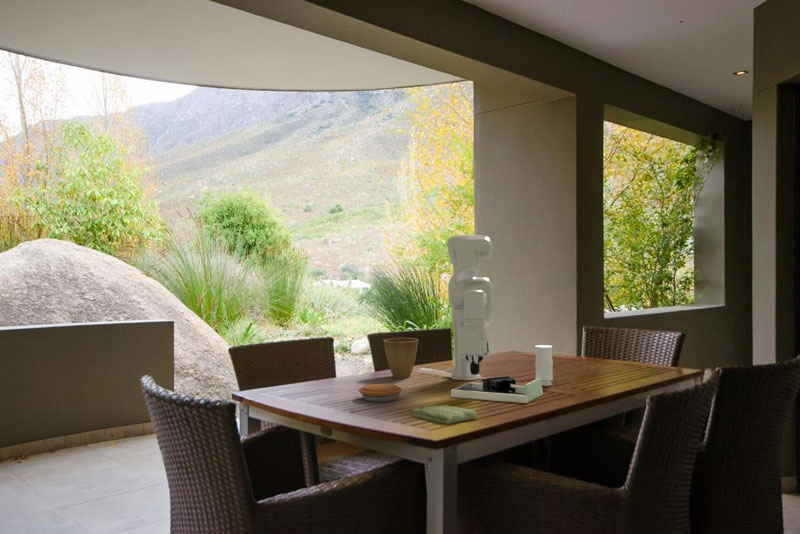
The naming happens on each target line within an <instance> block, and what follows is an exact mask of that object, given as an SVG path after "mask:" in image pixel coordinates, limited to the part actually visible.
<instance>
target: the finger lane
mask: <svg viewBox="0 0 800 534" xmlns="http://www.w3.org/2000/svg"><path fill="white" fill-rule="evenodd" d="M511 387H514V388H516V392H515V393H513V394H504V393H491V392H484V391H483V382H482V383H481V382H468V383H465V384H464V385H460V386H458V387H455V388H452V389H451V390H450V397H451V398H460V399H461V398H462V399H471V400H485V401H494V402H506V403H507V402H508V403H519V404H528V403H530V402H531V401H534V400H536V399H537V398H539V397H540V396H543V394H544V393H543V387H542V383H541V378H538V379H534V380H532V381H529V382H527V383H525V384H524V385H514V384H511Z"/></svg>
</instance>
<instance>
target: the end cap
mask: <svg viewBox="0 0 800 534" xmlns="http://www.w3.org/2000/svg"><path fill="white" fill-rule="evenodd" d="M482 383H483V390H482V392H491V393H504V394H516V393H515V392H516V388H514V387H511V385H516V383H517V382H516V379H515V378H510V375H507V376H505V375H504V376H497V377H487V378H485V379H484V380H483V381H482Z"/></svg>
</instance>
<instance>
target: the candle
mask: <svg viewBox="0 0 800 534" xmlns="http://www.w3.org/2000/svg"><path fill="white" fill-rule="evenodd" d="M534 348H535V360H534V362H535V363H534V364H535V366H534V368H535V370H534V371H535V379H534V380H536V379H538V378H541V383H542V386H544V387H545V386H546V387H547V386H552V385H553V383H552V381H553V380H554V377H553V371H554V369H553V368H554V366H553V364H554V362H553V361H554V360H553V350H552V349H553V345H547V344H546V345H545V344H544V345H534Z"/></svg>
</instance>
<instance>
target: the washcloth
mask: <svg viewBox="0 0 800 534" xmlns="http://www.w3.org/2000/svg"><path fill="white" fill-rule="evenodd" d="M412 413H413V417H415V418H418V419H424V420H427V421H432V422H436V423H440V424H446V425H450V424H456V423H461V422H466V421H471V420H472V421H473V420H475V419H477V417H478V415H477V412H476V411H475V410H474V409H473V408H472V409H471V408H464V407H458V406H454V405H453V406H451V405H445V404H442V405H431V406H425V407H421V408H414V409H412Z"/></svg>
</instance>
